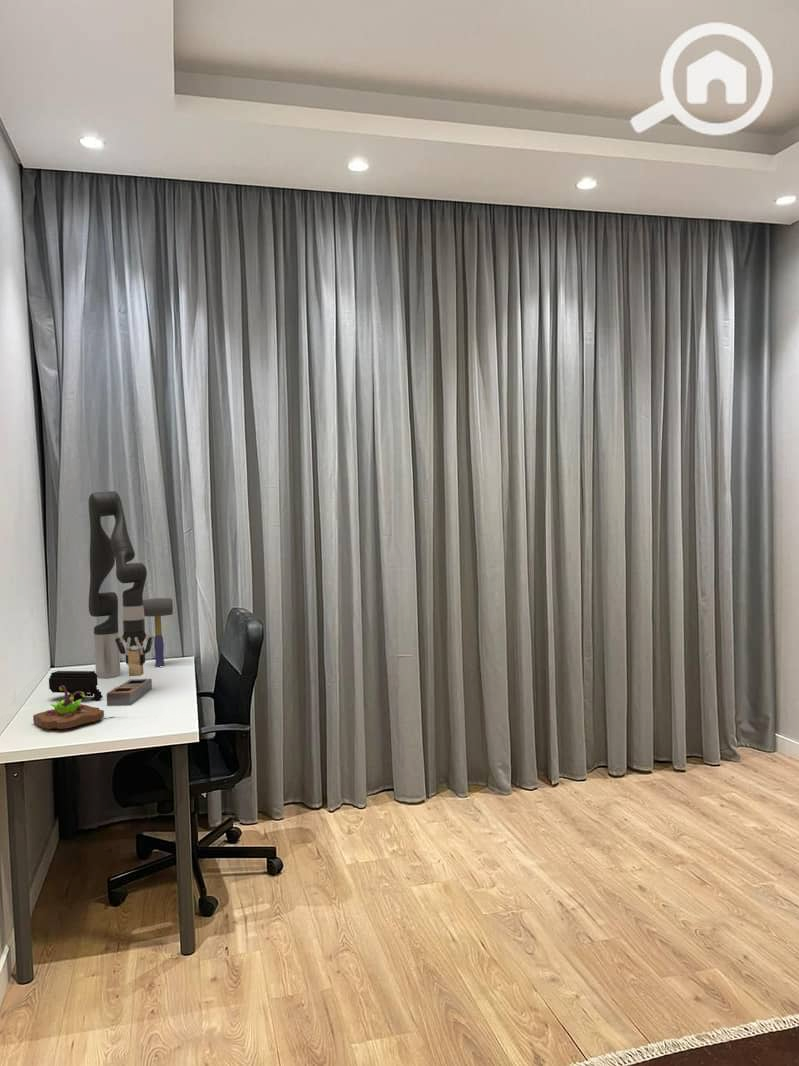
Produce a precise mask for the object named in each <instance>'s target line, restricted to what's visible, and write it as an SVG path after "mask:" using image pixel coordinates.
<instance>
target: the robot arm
mask: <svg viewBox="0 0 799 1066" xmlns="http://www.w3.org/2000/svg"><path fill="white" fill-rule="evenodd" d="M88 514H89V515H88V517H89V533H90V534H89V535H90V536H89V576H90V577H89V589H88V591H89V593H88V613H89V615H90V616H91V617H94V618H97V617H99V618H100V617H107V619H106V620H105V621H104V622H101V623H100V624H98V625H96V626H94V627H93V639H94V640H93V641H94V643H93V644H94V662H95V663H94V665H95V673H96V675H97V679H113V678H117V676H118V677H120V676H121V673H122V672H121V658H120V657H121V655H124V656H125V663H126V665H128V651H130V650H132V649H133V646H134V647H137V649H139V651H140V665H143V666H144V664H145V663H146V654H148V653H149V652H151V649H152V646H153V642H154V639H155V636H153V635H152V636H149V635H147V633H146V626H145V624H146V623H145V616H144V608H143V600H144V595H143V593H144V588H145V585H146V580H147V575H148V573H147V572H148V571H147V568H146V566H145V564H144V563H142V562H132V563H131V562H130V561H132V560H134V558H135V556H136V553H135V550H134V547H133V545H132V542H131V539H130V537H129V536H130V535H129V533H128V527H127V523H126V515H125V511H124V508H123V502H122V499H121V497H120V495H119V493H118V492H117V491H114V490H113V491H112V490H111V491H99V492H98V491H97V492H92V493H91V494H90V495H89V497H88ZM110 516H111V517H112V516H113V517H114V520H115V522H114V526H113V529H112V532H111V535H110V537H109V536H108V535H107V533H106V531H105V530H104V528H103V526H102V522H101V518H103V517H110ZM129 562H130V563H129ZM114 566H115V574H116V575H115V576H116V579H117V581H119V582H120V583H121V584H132V583H133V584H132V587H129V589H126V590H123V591H122V615H121V617H122V632H123V634H122V636H119V635H120V634H119V633H120V632H119V599H118V598H119V597H118V595H117V593H116V592H115V591H110V592H108V591H107V592H100V589H101V586H102V584H103V582H104V580H105V579H106V578H107V577H108V575H109V574H110V573H111V571H112V570H113V568H114ZM144 641H146V645H144ZM123 642H125V646H124V644H123ZM120 654H121V655H120Z"/></svg>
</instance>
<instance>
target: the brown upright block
mask: <svg viewBox="0 0 799 1066" xmlns="http://www.w3.org/2000/svg"><path fill="white" fill-rule="evenodd" d="M127 666H128V677H141V676H142V675H144V664H143V665H140V651H139V649H138V648H136V649H131V650H130V651H128V664H127Z"/></svg>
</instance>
